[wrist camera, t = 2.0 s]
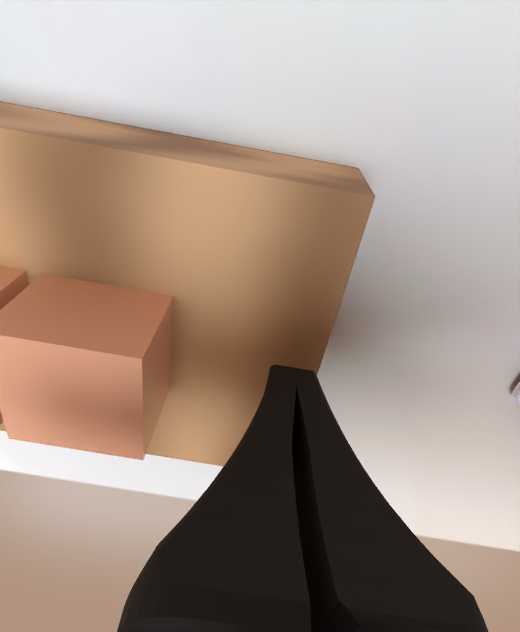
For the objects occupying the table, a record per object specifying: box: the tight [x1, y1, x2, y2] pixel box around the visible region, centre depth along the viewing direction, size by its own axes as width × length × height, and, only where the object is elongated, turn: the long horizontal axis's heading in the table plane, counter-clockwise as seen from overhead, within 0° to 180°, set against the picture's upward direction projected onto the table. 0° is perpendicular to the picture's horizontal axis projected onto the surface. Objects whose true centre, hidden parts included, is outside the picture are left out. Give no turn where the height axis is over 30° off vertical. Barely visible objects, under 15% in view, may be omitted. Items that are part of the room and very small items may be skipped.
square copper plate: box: [0, 102, 375, 466], centre depth 14 cm, size 14×12×3 cm
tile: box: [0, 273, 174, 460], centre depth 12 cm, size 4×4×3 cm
